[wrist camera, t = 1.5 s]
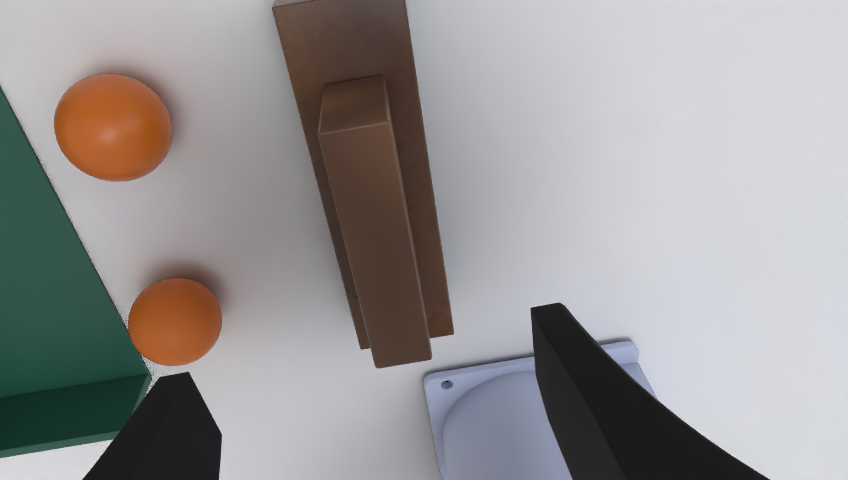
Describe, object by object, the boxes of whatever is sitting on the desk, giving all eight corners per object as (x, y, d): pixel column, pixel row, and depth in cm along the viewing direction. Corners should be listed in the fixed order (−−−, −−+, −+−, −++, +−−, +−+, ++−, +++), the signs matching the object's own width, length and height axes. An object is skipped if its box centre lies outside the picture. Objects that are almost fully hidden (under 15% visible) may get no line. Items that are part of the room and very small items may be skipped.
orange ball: (213, 254, 23) (195, 307, 21) (239, 319, 25) (225, 376, 23) (129, 268, 23) (99, 323, 21) (160, 332, 25) (136, 391, 22)
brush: (398, -29, 19) (412, 16, 14) (447, 299, 26) (468, 406, 21) (280, -9, 19) (252, 43, 14) (360, 313, 26) (361, 424, 21)
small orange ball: (162, 52, 19) (131, 86, 17) (196, 146, 21) (173, 190, 18) (60, 69, 19) (12, 105, 17) (103, 161, 21) (65, 208, 18)
